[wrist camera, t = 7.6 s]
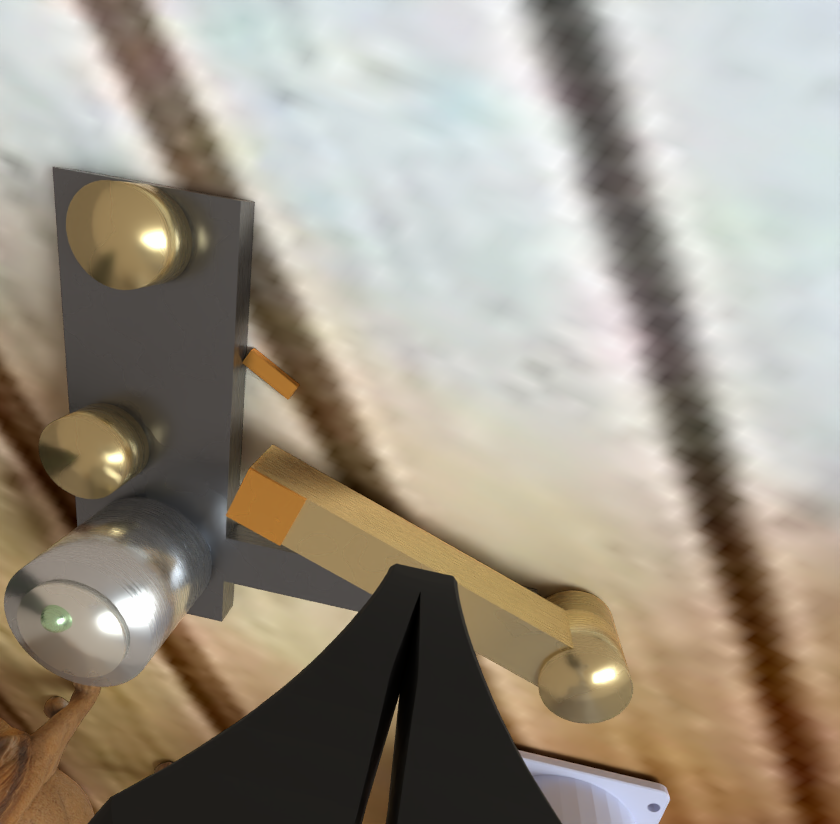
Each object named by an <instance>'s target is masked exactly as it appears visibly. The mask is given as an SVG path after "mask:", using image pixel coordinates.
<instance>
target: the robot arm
mask: <svg viewBox="0 0 840 824" xmlns="http://www.w3.org/2000/svg"><path fill="white" fill-rule="evenodd" d="M399 694H400V695H399ZM398 697H399V704H398V714H397V724H396V734H395V744H394V754H393V764H392V773H391V783H390V793H389V803H388V812H387V819H386V824H658V823H659V821H660V819H661V817H662V815H663V813H664V811H665V809H666V807H667V805H668V803H669V800H670V797H669V794H668V791H667V788H666V787H665V786H664V785H662V784H659V783H656V782H651V781H647V780H643V779H639V778H635V777H630V776H626V775H622V774H618V773H613V772H609V771H605V770H601V769H597V768H592V767H588V766H584V765H580V764H576V763H571V762H567V761H563V760H559V759H554V758H550V757H546V756H542V755H538V754H533V753H529V752H525V751H521V750H518V749H517V747H516V746H515V744H514V742H513V740H512V738H511V736H510V734H509V732H508V730H507V728H506V726H505V724H504V722H503V720H502V718H501V716H500V713H499V711H498V709H497V707H496V705H495V702H494V700H493V698H492V696H491V693H490V691H489V688H488V686H487V683H486V681H485V679H484V676H483V674H482V671H481V668H480V666H479V663H478V660H477V657H476V654H475V651H474V648H473V645H472V642H471V639H470V636H469V633H468V630H467V626H466V623H465V619H464V615H463V611H462V607H461V603H460V598H459V592H458V583H457V581H456V579H455V578H454V576H451V575H447V574H442V573H438V572H433V571H428V570H424V569H419V568H415V567H410V566H406V565H401V564H397V563H396V564H394V565H392V566H391V567H390V568H389V570H388V572H387V574H386V575H385V577H384V579H383V580H382V582H381V583H380V585H379V586H378V588H377V589H376V591H375V592H374V593H373V595H372V596H371V597H370V599H369V600H368V601H367V603H366V604H365V605H364V606H363V607H362V609H361V610H360V611H359V612H358V613H357V615H356V616H355V617H354V618H353V619H352V621H351V622H350V623H349V624H348V625H347V626H346V627H345V629H344V630H343V631H342V632H341V633H340V634H339V635H338V636H337V637H336V638H335V639H334V640H333V641H332V642H331V643H330V644H329V645H328V646H327V647H326V648H325V649H324V650H323V652H322V653H320V654H319V655H318V656H317V657H316V658H315V659H314V660H313V661H312V662H311V663H310V664H309V665H308V666H307V667H306V668H305V669H303V670H302V671H301V672H300V673H299V674H298V675H297V676H295V677H294V678H293V679H292V680H291V681H290V682H289V683H287V684H286V685H285V686H284V687H283V688H281V689H280V690H279V691H278V692H276V693H275V694H274V695H272V696H271V697H270V698H269V699H267V700H266V701H265V702H263V703H262V704H261V705H260V706H258V707H257V708H256V709H254V710H253V711H252V712H250V713H249V714H248V715H246V716H245V717H244V718H242V719H241V720H239V721H238V722H236V723H235V724H233V725H232V726H230V727H229V728H227V729H226V730H224V731H223V732H221V733H220V734H218V735H217V736H215V737H214V738H212V739H211V740H209V741H207V742H206V743H204V744H203V745H201V746H200V747H198V748H197V749H195V750H194V751H192V752H191V753H189V754H187V755H186V756H184V757H182V758H181V759H179V760H177V761H176V762H174V763H172V764H170V765H168V766H167V767H165V768H163V769H161V770H159V771H158V772H156V773H154V774H152V775H150V776H148V777H147V778H145V779H143V780H141V781H139V782H138V783H136V784H134V785H132V786H130V787H129V788H127V789H125V790H123V791H121V792H119V793H117V794H116V795H114V796H112V797H110V798H109V800H108V801H107V802H106V803H105V804H104V805H103V806H102V807H101V808H100V810H99V811H98V812H97V813H96V814H95V815H94V817H93V818H92V819H91V820H90V821H89V822H88V824H362V821H363V817H364V813H365V809H366V805H367V802H368V798H369V795H370V792H371V788H372V785H373V781H374V778H375V775H376V771H377V768H378V765H379V761H380V758H381V755H382V751H383V748H384V744H385V741H386V738H387V734H388V731H389V728H390V724H391V721H392V717H393V714H394V711H395V707H396V704H397V701H398Z"/></svg>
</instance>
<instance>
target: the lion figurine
mask: <svg viewBox="0 0 840 824" xmlns="http://www.w3.org/2000/svg"><path fill="white" fill-rule="evenodd" d="M73 685H74V687H75V692H74V693H73V695H72V697H71V699H70V702H69V703H68V702H67V701H66V700H64V699H63V698H61V697H53V698H50V699H49V700H48V701H47V702H46V704H45V707H44V713H45V714H46V716H47V717H48V718H50V719H49V720H48V721H47V722H46V723H45V724H44V725H43V726H42V727H40V728H39V729H38V730H36V731H35V732H34V733H32V734H31V735H29V734H28V733H26V732H25V731H21V730H18V729H17V728H13V727H11V726H10V725H8V723H6V722H5V721H4V720H3V719H2V718H0V824H88V822H89V821H90V820H91V819H92V818H93V817H94V812H93V808H92V805H91V803H90V801H89V799H88V797H87V795H86V793H85V792H84V791H83V789H82V788H81V787H80V786H79V784H77V783H76V782H75V781H74V780H72V779H71V778H70V777H69V776H67V775H66V774H65V773H63V772H62V771H61V770H59V769H58V768H57V767H58V765H59V762H60V759H61V757H62V754H63V751H64V749H65V747H66V745H67V743H68V741H69V740H70V738H71V736H72V735H73V733H74V732H75V730H76V729H77V727H78V726H79V724H80V723H81V721H82V720H83V718H84V717H85V715H86V714H87V713H88V711H89V710H90V709H91V707H92V706H93V704H94V703H95V701H96V699H97V697H98V695H99V693H100V689H101V687H96V686H88V685H82V684H79V683H75V682H73ZM170 764H172V763H171V762H166V763H163V764H160V765H158V766H157V768H156V769H155V772H154V773H156V772H158V771H159V770H161V769H163V768H165V767H167V766H168V765H170Z"/></svg>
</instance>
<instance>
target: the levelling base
mask: <svg viewBox="0 0 840 824" xmlns="http://www.w3.org/2000/svg"><path fill="white" fill-rule="evenodd" d="M53 178H54V193H55V207H56V222H57V237H58V251H59V266H60V280H61V295H62V309H63V324H64V339H65V353H66V368H67V382H68V397H69V411H70V414H68V415H66V416H64V417H62V418H60V419H58V420H55V421H53V422H52V423H50V424H49V425H48V426H47V427H46V428H45V429H44V430H43V432H42V434H41V436H40V440H39V455H40V459H41V462H42V464H43V467H44V468H45V470H46V472H47V473H48V475H49V476H50V477H51V479H52V480H53V481H54V482H55V483H56V484H57V485H58V486H60V487H61V488H62V489H64V490H65V491H67V492H68V493H70V494H72V495H75V499H76V513H77V528H75V529H74V530H73V531H71V532H70V533H69V534H67V535H66V536H65V537H63V538H62V539H61V540H59V541H58V542H57V543H55V544H54V545H53V546H51V547H50V548H49V549H47V550H46V551H44V552H43V553H42V554H40V555H39V556H38V557H36V558H35V559H34V560H32V561H31V562H30V563H28V564H27V565H26V566H24V567H23V568H22V569H20V570H19V571H18V572H17V573H16V574H15V575H14V576H13V577H12V579H11V580H10V582H9V584H8V586H7V588H6V592H5V598H4V608H5V614H6V618H7V621H8V624H9V626H10V628H11V630H12V633H13V634H14V636H15V637H16V639H17V641H18V642H19V643H20V645H21V646H22V647H23V648H24V650H25V651H26V652H27V653H28V654H29V655H30V656H31V657H32V658H33V659H35V660H36V661H37V662H38V663H39V664H41V665H42V666H43V667H45V668H46V669H48V670H49V671H51V672H53V673H54V674H56V675H58V676H60V677H62V678H64V679H67V680H69V681H72V682H75V683H79V684H82V685H88V686H96V687H109V686H115V685H119V684H123V683H125V682H127V681H129V680H131V679H133V678H134V677H136V676H137V675H138V674H139V673H140V672H141V671H142V670H143V669H144V667H145V666H146V665H147V663H148V662H149V661H150V660H151V658H152V657H153V656H154V654H155V653H156V652H157V651H158V649H159V648H160V647H161V645H162V644H163V643H164V641H165V640H166V639H167V638H168V636H169V635H170V634H171V632H172V631H173V630H174V629H175V627H176V626H177V625H178V623H179V622H180V621H181V620H182V618H183V617H184V616H185V614H186V613H187V614H191V615H196V616H200V617H205V618H209V619H213V620H218V621H223V619H224V618H225V616H226V615H227V613H228V612H229V610H230V609H231V607H232V606H233V595H234V584H238V585H243V586H247V587H252V588H256V589H260V590H265V591H269V592H274V593H278V594H283V595H287V596H291V597H296V598H300V599H305V600H309V601H314V602H318V603H322V604H327V605H331V606H336V607H340V608H345V609H349V610H353V611H358V612H359V611H360V610H361V609H362V607H363V606H364V605H365V604H366V603H367V601H368V600H369V599H370V597H371V596H372V594H370V593H368V592H366V591H365V590H363V589H361V588H359V587H357V586H356V585H354V584H352V583H350V582H348V581H347V580H345V579H343V578H341V577H339V576H338V575H336V574H334V573H332V572H330V571H329V570H327V569H325V568H323V567H321V566H319V565H318V564H316V563H314V562H312V561H310V560H309V559H307V558H305V557H303V556H301V555H300V554H298V553H296V552H294V551H292V550H291V549H289V548H287V547H285V546H283V545H282V544H281V546H279V545H277V544H276V543H274V542H272V541H270V540H268V539H266V538H265V537H263V536H261V535H259V534H257V533H256V532H254V531H252V530H250V529H248V528H247V527H245V526H243V525H239V524H237V522H236V521H234V520H232V519H230V518H229V517H227V516H226V514H227V512H228V510H229V508H230V506H231V504H232V502H233V500H234V498H235V496H236V494H237V492H238V490H239V483H240V464H241V446H242V427H243V408H244V390H245V371H246V367H248V368H249V369H250V370H252V371H253V372H254V373H255V374H257V375H258V376H259V377H260V378H262V379H263V380H264V381H265V382H267V383H268V384H269V385H270V386H272V387H273V388H274V389H275V390H277V391H278V392H279V393H280V394H282V395H283V396H284V397H285V398H287V399H289V398H290V397H291V396H292V395H293V394H294V392H295V391H296V390H297V389H298V387H299V386H300V384H299V383H297V382H296V381H295V380H294V379H293V378H291V377H290V376H289V375H288V374H286V373H285V372H284V371H283V370H281V369H280V368H279V367H278V366H276V365H275V364H274V363H273V362H271V361H270V360H269V359H268V358H266V357H265V356H264V355H263V354H261V353H260V352H259V351H258V350H256V349H255V348H254V349H252V350H251V351H250V352H249V354H248V355H247V356H246V352H247V334H248V315H249V297H250V278H251V259H252V241H253V222H254V203H255V202H252V201H246V200H241V199H235V198H230V197H224V196H219V195H213V194H208V193H202V192H197V191H191V190H185V189H180V188H174V187H169V186H163V185H158V184H152V183H147V182H141V181H136V180H130V179H125V178H119V177H114V176H108V175H103V174H97V173H92V172H86V171H81V170H74V169H66V168H57V167H53ZM525 588H527V587H525ZM527 589H528V590H530V591H532V592H534V593H535V594H537V590H536V589H532V588H527Z"/></svg>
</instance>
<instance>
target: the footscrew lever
mask: <svg viewBox="0 0 840 824" xmlns="http://www.w3.org/2000/svg"><path fill="white" fill-rule="evenodd" d="M226 516H227V517H229V518H230V519H232V520H234V521H236V522H238V523H239V524H241V525H243V526H245V527H247V528H248V529H250V530H252V531H254V532H256V533H257V534H259V535H261V536H263V537H265V538H266V539H268V540H270V541H272V542H274V543H276V544H277V545H279V546H281V544H282V545H283V546H285V547H287V548H289V549H291V550H292V551H294V552H296V553H298V554H300V555H301V556H303V557H305V558H307V559H309V560H310V561H312V562H314V563H316V564H318V565H319V566H321V567H323V568H325V569H327V570H329V571H330V572H332V573H334V574H336V575H338V576H339V577H341V578H343V579H345V580H347V581H348V582H350V583H352V584H354V585H356V586H357V587H359V588H361V589H363V590H365V591H366V592H368V593H370V594H372V595H373V593H374V592H375V591H376V589H377V588H378V586H379V585H380V583H381V582H382V580H383V579H384V577H385V575H386V574H387V572H388V570H389V568H390V567H391V566H392V565H394V564H396V563H397V564H401V565H406V566H410V567H415V568H419V569H424V570H428V571H433V572H438V573H442V574H447V575H451V576H454V578H455V579H456V581H457V583H458V592H459V598H460V603H461V607H462V611H463V615H464V619H465V623H466V626H467V630H468V633H469V636H470V639H471V642H472V645H473V648H474V651H475V652H477V653H478V654H480V655H482V656H484V657H486V658H487V659H489V660H491V661H493V662H495V663H496V664H498V665H500V666H502V667H504V668H505V669H507V670H509V671H511V672H513V673H514V674H516V675H518V676H520V677H522V678H523V679H525V680H527V681H529V682H531V683H532V684H534V685H536V686H538V687H539V693H540V696H541V699H542V701H543V703H544V704H545V705H546V707H547V708H548V709H549V710H550V711H552V712H553V713H554V714H556V715H557V716H559V717H561V718H563V719H566V720H568V721H572V722H577V723H598V722H603V721H606V720H609V719H611V718H613V717H615V716H617V715H618V714H620V713H621V712H622V711H623V710H624V709H625V708H626V707H627V706H628V704H629V703H630V700H631V698H632V694H633V684H632V680H631V677H630V674H629V670H628V667H627V664H626V660H625V657H624V654H623V650H622V647H621V644H620V640H619V637H618V634H617V630H616V627H615V624H614V620H613V617H612V614H611V612H610V610H609V608H608V607H607V605H606V604H605V603H604V602H603V601H602V600H601V599H599V598H598V597H596V596H594V595H592V594H589V593H587V592H582V591H574V590H570V591H562V592H558V593H555V594H553V595H550V596H549V597H547V598H545V599H544V598H543V597H541V596H539V595H537V594H535V593H534V592H532V591H530V590H528V589H527V588H525V587H523V586H521V585H520V584H518V583H516V582H514V581H513V580H511V579H509V578H507V577H505V576H504V575H502V574H500V573H498V572H497V571H495V570H493V569H491V568H490V567H488V566H486V565H484V564H483V563H481V562H479V561H477V560H475V559H474V558H472V557H470V556H468V555H467V554H465V553H463V552H461V551H460V550H458V549H456V548H454V547H453V546H451V545H449V544H447V543H445V542H444V541H442V540H440V539H438V538H437V537H435V536H433V535H431V534H430V533H428V532H426V531H424V530H423V529H421V528H419V527H417V526H416V525H414V524H412V523H410V522H408V521H407V520H405V519H403V518H401V517H400V516H398V515H396V514H394V513H393V512H391V511H389V510H387V509H386V508H384V507H382V506H380V505H378V504H377V503H375V502H373V501H371V500H370V499H368V498H366V497H364V496H363V495H361V494H359V493H357V492H356V491H354V490H352V489H350V488H348V487H347V486H345V485H343V484H341V483H340V482H338V481H336V480H334V479H333V478H331V477H329V476H327V475H326V474H324V473H322V472H320V471H318V470H317V469H315V468H313V467H311V466H310V465H308V464H306V463H304V462H303V461H301V460H299V459H297V458H296V457H294V456H292V455H290V454H288V453H287V452H285V451H283V450H281V449H280V448H278V447H276V446H274V445H273V444H272V445H271V446H270V447H269V449H268V450H267V451H266V452H265V453H264V454H263V455H262V456H261V457H260V458H259V459H258V460H257V461H256V462H255V463H254V464H253V465H252V466H251V467H250V468H249V470H248V472H247V474H246V476H245V478H244V480H243V482H242V484H241V486H240V488H239V490H238V492H237V494H236V496H235V498H234V500H233V502H232V504H231V506H230V508H229V510H228V512H227V514H226Z"/></svg>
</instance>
